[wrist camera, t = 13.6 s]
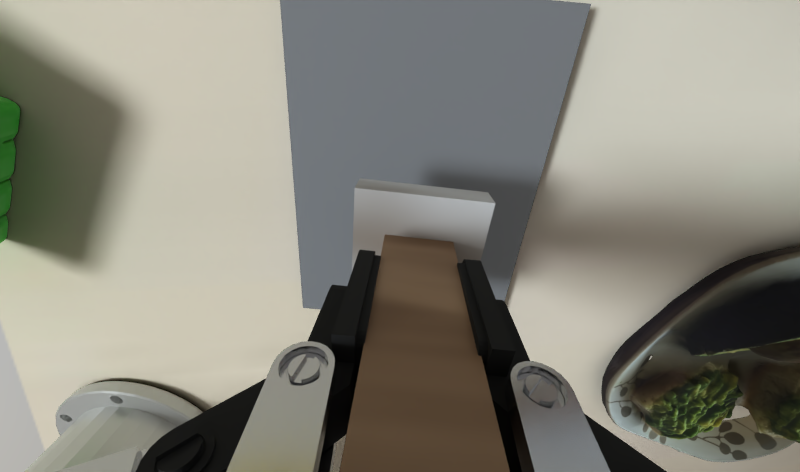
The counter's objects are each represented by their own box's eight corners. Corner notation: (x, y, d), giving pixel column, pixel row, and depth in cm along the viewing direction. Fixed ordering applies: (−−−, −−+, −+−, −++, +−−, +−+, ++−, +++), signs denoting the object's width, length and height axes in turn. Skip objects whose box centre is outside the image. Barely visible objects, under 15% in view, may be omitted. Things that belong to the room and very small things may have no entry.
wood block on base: (458, 311, 14) (518, 611, 6) (355, 300, 14) (277, 587, 6) (488, 192, 12) (661, 447, 4) (359, 178, 12) (232, 403, 3)
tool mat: (495, 317, 19) (497, 324, 19) (306, 301, 19) (303, 307, 18) (582, 7, 12) (590, 4, 12) (283, -21, 12) (278, -26, 11)
